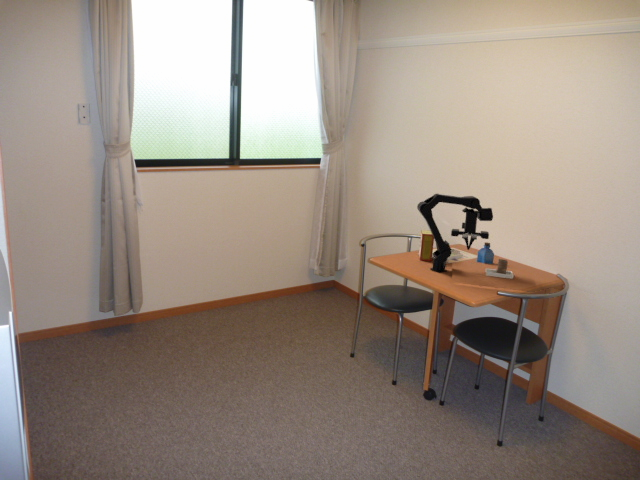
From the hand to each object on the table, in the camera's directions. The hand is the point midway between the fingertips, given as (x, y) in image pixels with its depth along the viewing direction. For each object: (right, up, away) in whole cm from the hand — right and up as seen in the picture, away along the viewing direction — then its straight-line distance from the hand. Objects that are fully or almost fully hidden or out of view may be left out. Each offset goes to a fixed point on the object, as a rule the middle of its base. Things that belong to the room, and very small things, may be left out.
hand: (468, 249), depth 254 cm
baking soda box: (-18, -6, +23) cm, 30 cm away
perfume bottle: (+15, -9, +19) cm, 26 cm away
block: (+15, -13, -5) cm, 21 cm away
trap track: (+14, -14, -5) cm, 21 cm away
